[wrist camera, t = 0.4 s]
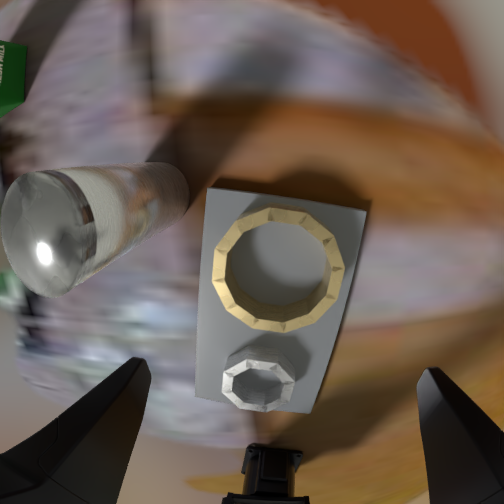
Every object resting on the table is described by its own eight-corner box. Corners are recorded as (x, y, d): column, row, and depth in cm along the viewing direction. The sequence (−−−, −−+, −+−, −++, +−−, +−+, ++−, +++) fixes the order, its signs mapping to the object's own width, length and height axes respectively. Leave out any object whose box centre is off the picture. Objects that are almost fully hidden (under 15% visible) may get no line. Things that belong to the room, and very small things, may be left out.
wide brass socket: (322, 320, 22) (326, 338, 20) (216, 305, 23) (209, 320, 20) (346, 214, 20) (354, 220, 17) (226, 196, 20) (219, 200, 18)
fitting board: (309, 406, 26) (310, 413, 25) (197, 390, 27) (195, 396, 26) (362, 209, 20) (366, 211, 20) (210, 186, 21) (207, 188, 20)
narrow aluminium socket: (285, 399, 25) (285, 414, 23) (224, 390, 25) (220, 404, 23) (298, 351, 23) (299, 366, 21) (229, 341, 23) (225, 355, 22)
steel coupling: (186, 231, 22) (87, 310, 10) (128, 223, 23) (8, 283, 10) (192, 164, 21) (81, 172, 8) (131, 160, 21) (-1, 172, 9)
